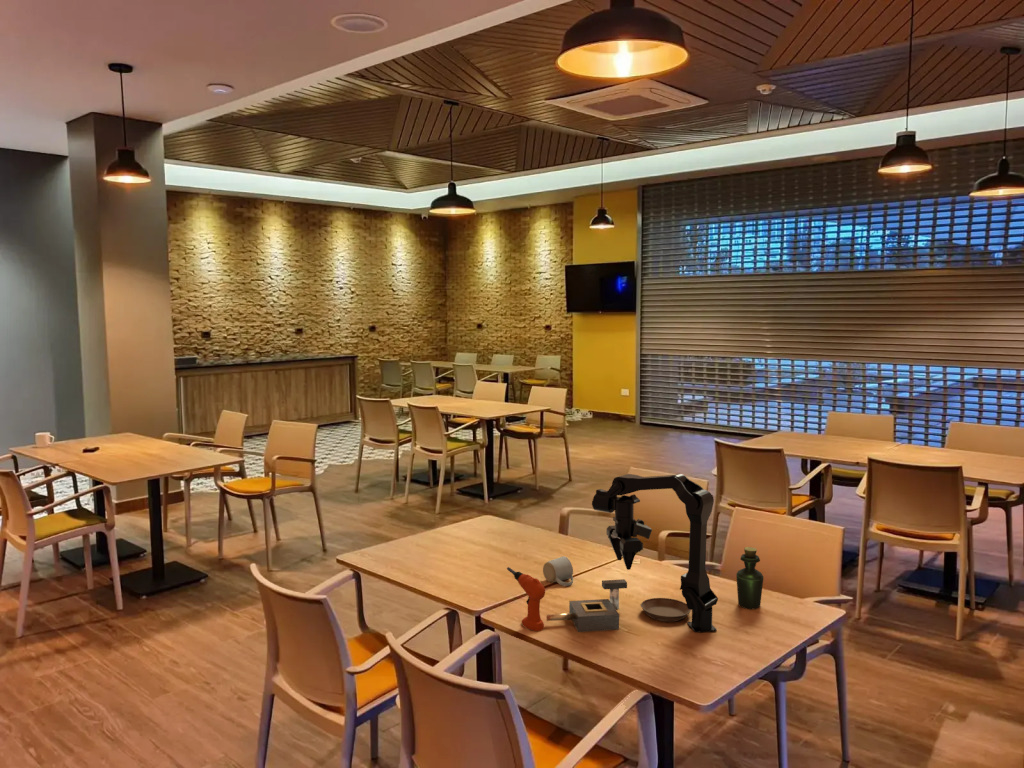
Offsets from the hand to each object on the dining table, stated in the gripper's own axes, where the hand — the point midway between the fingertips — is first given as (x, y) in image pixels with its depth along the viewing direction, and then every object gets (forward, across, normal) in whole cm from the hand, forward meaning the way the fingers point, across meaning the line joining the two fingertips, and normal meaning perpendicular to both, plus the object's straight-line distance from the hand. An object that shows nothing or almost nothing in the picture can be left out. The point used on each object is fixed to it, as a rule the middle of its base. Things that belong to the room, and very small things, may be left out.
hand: (624, 564), depth 229 cm
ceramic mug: (+13, +24, +15) cm, 31 cm away
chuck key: (+13, -2, +4) cm, 13 cm away
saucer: (+13, -9, -10) cm, 19 cm away
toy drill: (+13, -7, +33) cm, 36 cm away
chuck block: (+13, -11, +17) cm, 24 cm away
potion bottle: (+13, -7, -38) cm, 41 cm away
